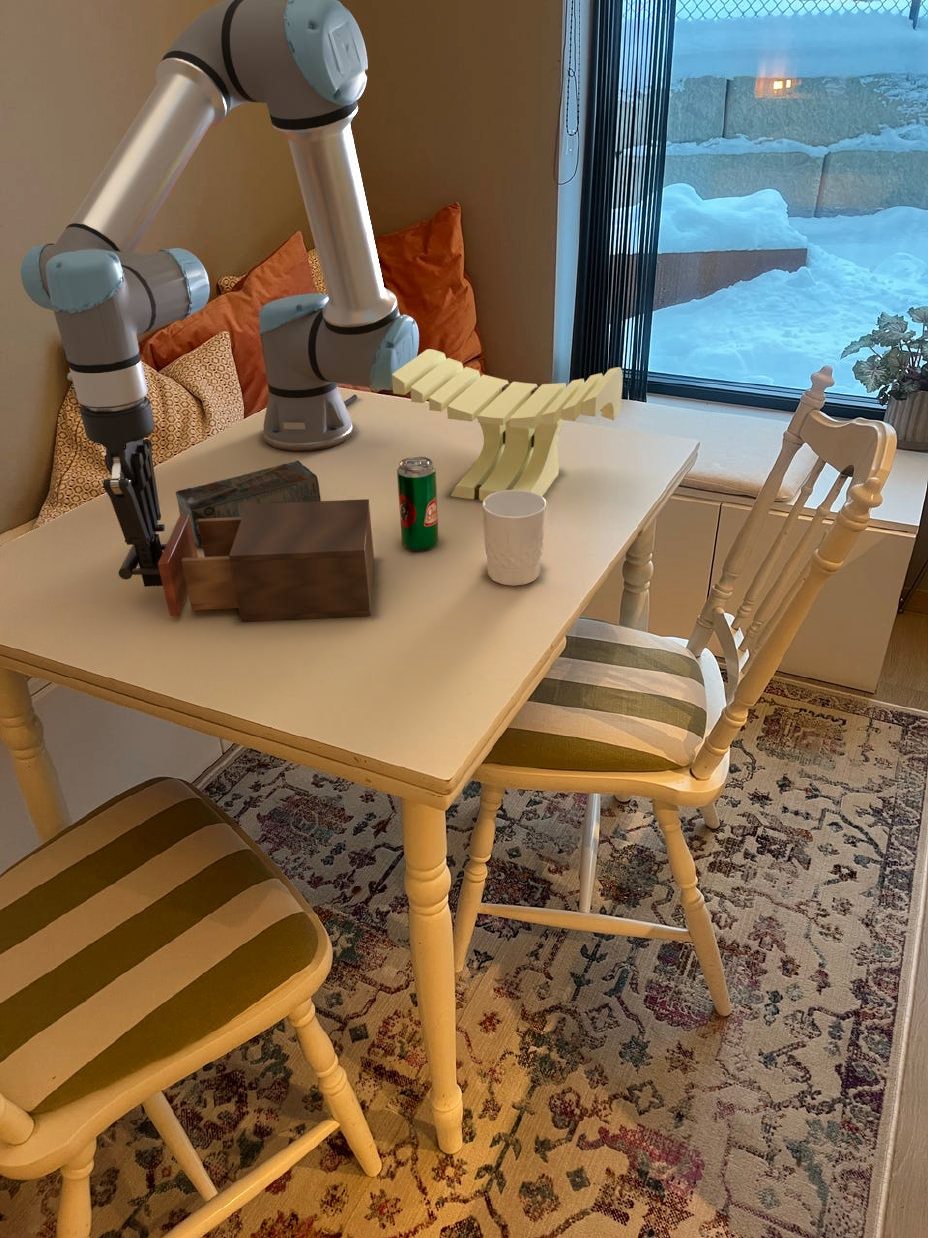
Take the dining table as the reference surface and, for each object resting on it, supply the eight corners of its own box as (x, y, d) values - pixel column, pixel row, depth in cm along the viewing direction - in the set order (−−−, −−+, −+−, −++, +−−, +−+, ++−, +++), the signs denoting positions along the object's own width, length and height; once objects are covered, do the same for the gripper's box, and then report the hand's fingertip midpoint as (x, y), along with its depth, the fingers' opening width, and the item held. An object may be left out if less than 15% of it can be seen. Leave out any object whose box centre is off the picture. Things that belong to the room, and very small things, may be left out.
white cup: (474, 565, 123) (472, 496, 117) (528, 553, 125) (529, 485, 120) (498, 593, 116) (497, 522, 111) (554, 580, 119) (557, 509, 113)
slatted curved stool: (616, 473, 146) (624, 360, 136) (589, 516, 134) (596, 396, 124) (439, 449, 156) (435, 343, 146) (399, 488, 143) (391, 374, 134)
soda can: (434, 554, 125) (430, 471, 119) (397, 551, 126) (392, 469, 120) (442, 536, 129) (439, 456, 123) (407, 534, 130) (402, 453, 124)
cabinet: (240, 622, 112) (228, 555, 107) (256, 566, 124) (246, 504, 119) (370, 616, 113) (364, 549, 108) (374, 561, 124) (368, 498, 119)
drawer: (121, 618, 112) (107, 565, 108) (145, 567, 122) (133, 517, 118) (290, 610, 112) (283, 557, 109) (300, 560, 123) (294, 510, 119)
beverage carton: (180, 527, 134) (171, 485, 130) (305, 496, 142) (300, 455, 138) (197, 549, 128) (188, 506, 124) (326, 515, 136) (321, 473, 132)
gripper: (96, 382, 109) (138, 559, 122) (61, 423, 98) (112, 612, 111) (160, 380, 109) (196, 556, 122) (133, 420, 98) (176, 609, 111)
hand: (156, 583), depth 116 cm, fingers closed
